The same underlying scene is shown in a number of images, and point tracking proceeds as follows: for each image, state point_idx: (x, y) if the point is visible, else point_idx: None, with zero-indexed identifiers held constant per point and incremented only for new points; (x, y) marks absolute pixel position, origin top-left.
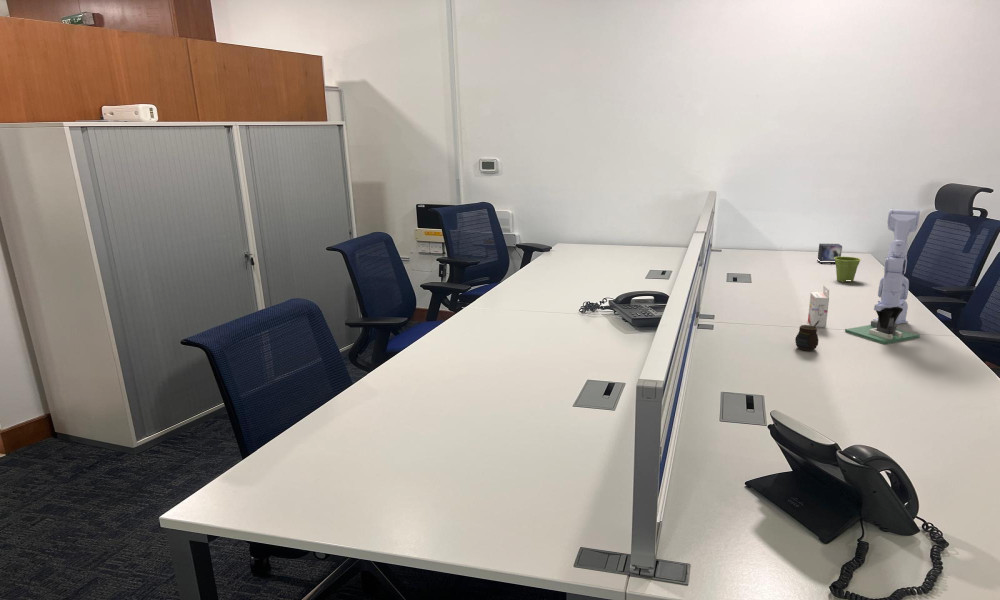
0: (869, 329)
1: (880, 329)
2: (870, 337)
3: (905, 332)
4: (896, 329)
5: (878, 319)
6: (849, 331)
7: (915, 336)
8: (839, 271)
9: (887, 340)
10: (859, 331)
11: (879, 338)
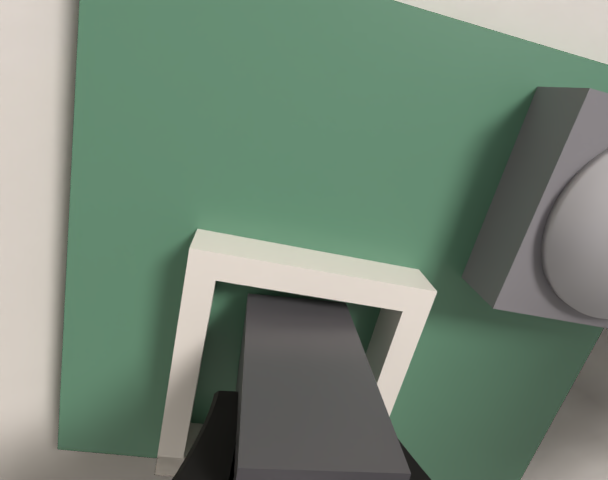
0: (189, 250)
1: (240, 363)
2: (67, 311)
3: (510, 411)
4: (564, 327)
5: (240, 424)
6: (83, 3)
7: (466, 478)
8: None
9: (120, 444)
10: (168, 119)
11: (110, 381)
